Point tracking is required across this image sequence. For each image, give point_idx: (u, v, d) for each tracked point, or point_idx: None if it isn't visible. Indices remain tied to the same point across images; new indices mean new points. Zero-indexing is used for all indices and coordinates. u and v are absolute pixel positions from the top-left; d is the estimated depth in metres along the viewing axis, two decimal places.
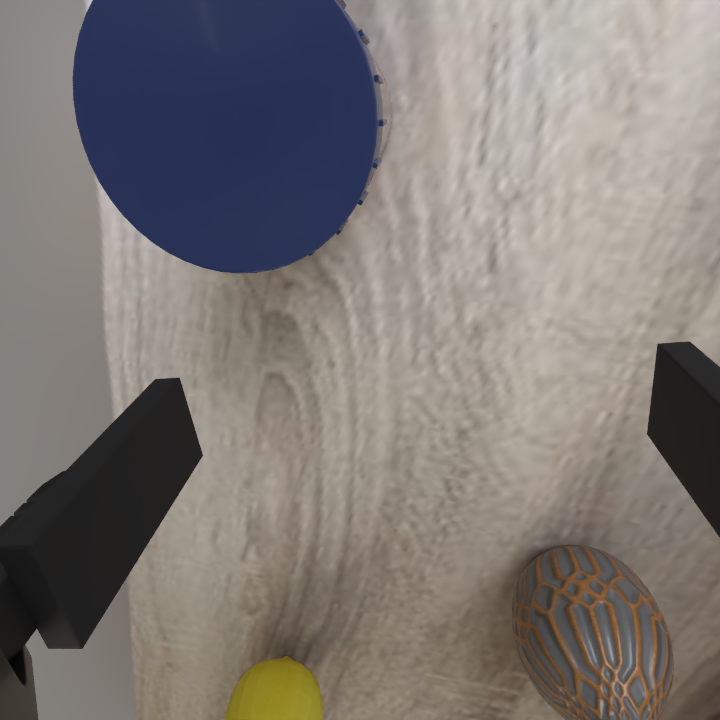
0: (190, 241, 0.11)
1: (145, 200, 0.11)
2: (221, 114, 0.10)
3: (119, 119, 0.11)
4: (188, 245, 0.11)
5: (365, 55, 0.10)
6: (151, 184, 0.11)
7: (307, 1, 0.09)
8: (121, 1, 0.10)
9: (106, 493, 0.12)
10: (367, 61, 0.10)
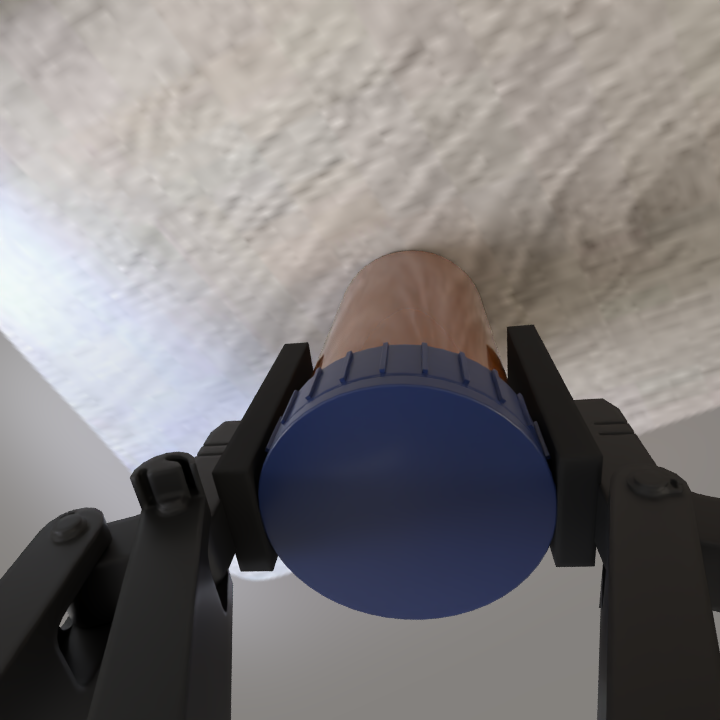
0: (530, 495, 0.10)
1: (517, 542, 0.11)
2: (397, 520, 0.11)
3: (461, 580, 0.11)
4: (536, 495, 0.10)
5: (270, 450, 0.10)
6: (498, 542, 0.11)
7: (276, 503, 0.11)
8: (378, 604, 0.12)
9: None
10: (273, 445, 0.10)
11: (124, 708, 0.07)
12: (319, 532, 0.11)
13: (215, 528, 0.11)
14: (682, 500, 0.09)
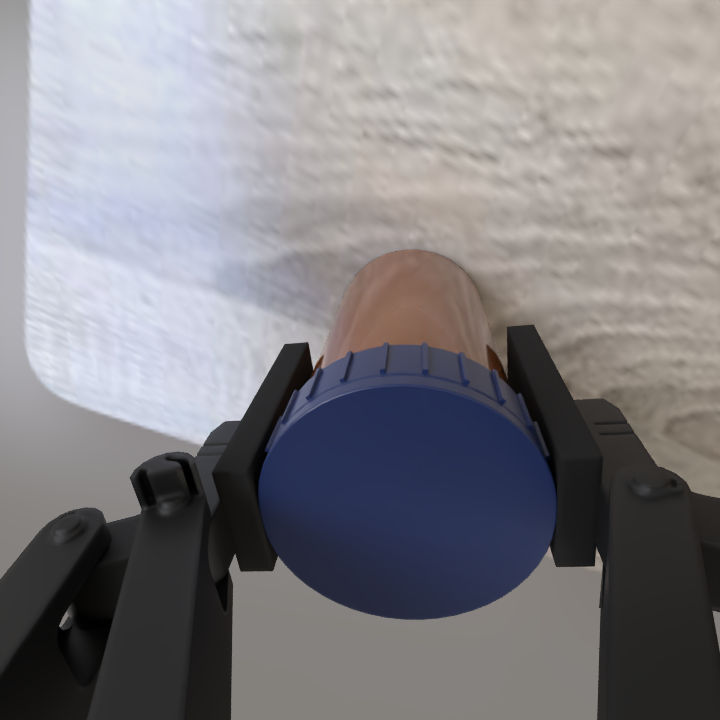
0: (530, 495, 0.10)
1: (517, 542, 0.11)
2: (397, 520, 0.11)
3: (461, 580, 0.11)
4: (536, 495, 0.10)
5: (270, 450, 0.10)
6: (498, 543, 0.11)
7: (276, 502, 0.11)
8: (377, 604, 0.12)
9: None
10: (273, 445, 0.10)
11: (124, 708, 0.07)
12: (319, 532, 0.11)
13: (215, 528, 0.11)
14: (682, 500, 0.09)
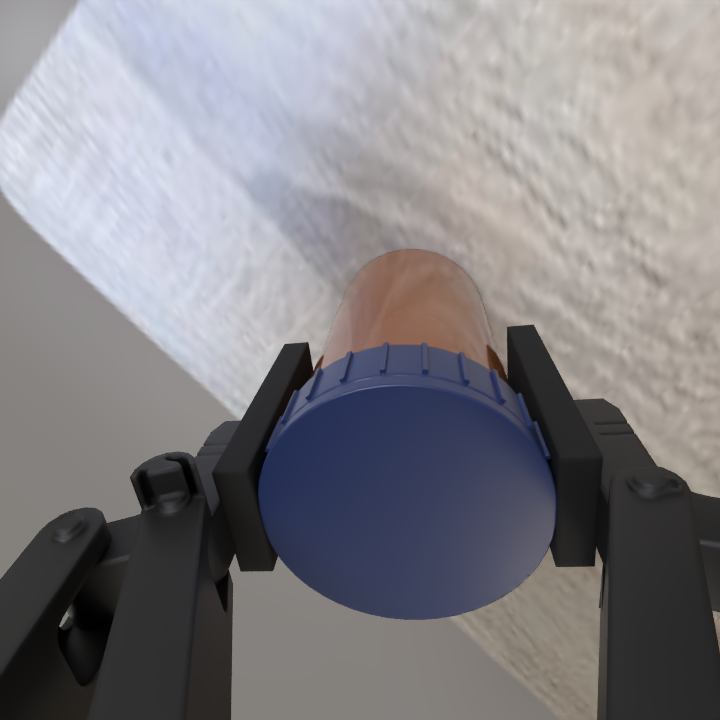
0: (530, 495, 0.10)
1: (517, 542, 0.11)
2: (397, 520, 0.11)
3: (461, 580, 0.11)
4: (536, 495, 0.10)
5: (270, 450, 0.10)
6: (498, 543, 0.11)
7: (276, 503, 0.11)
8: (378, 604, 0.12)
9: None
10: (273, 445, 0.10)
11: (124, 708, 0.07)
12: (319, 532, 0.11)
13: (215, 528, 0.11)
14: (682, 500, 0.09)
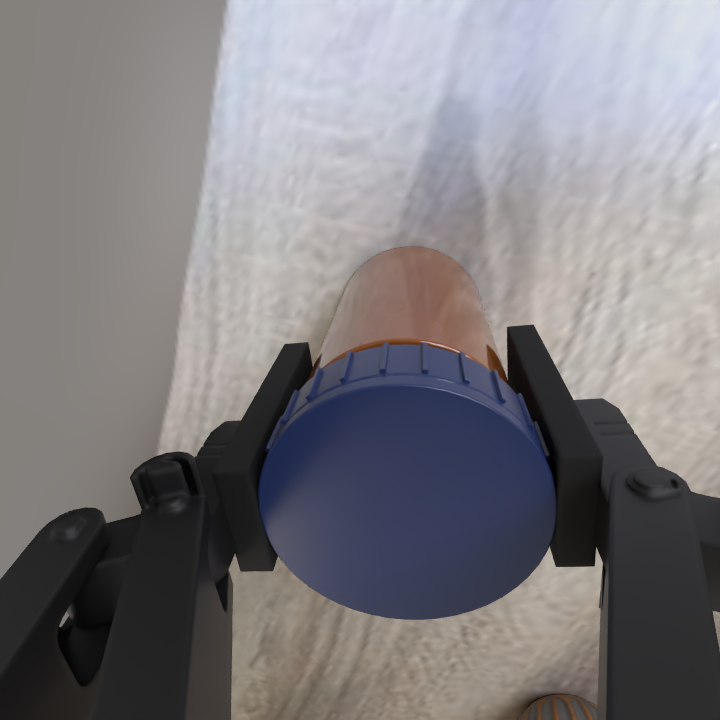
0: (530, 495, 0.10)
1: (517, 542, 0.11)
2: (397, 520, 0.11)
3: (461, 580, 0.11)
4: (536, 495, 0.10)
5: (270, 450, 0.10)
6: (498, 543, 0.11)
7: (276, 503, 0.11)
8: (377, 604, 0.12)
9: None
10: (273, 445, 0.10)
11: (124, 708, 0.07)
12: (319, 532, 0.11)
13: (215, 528, 0.11)
14: (682, 500, 0.09)
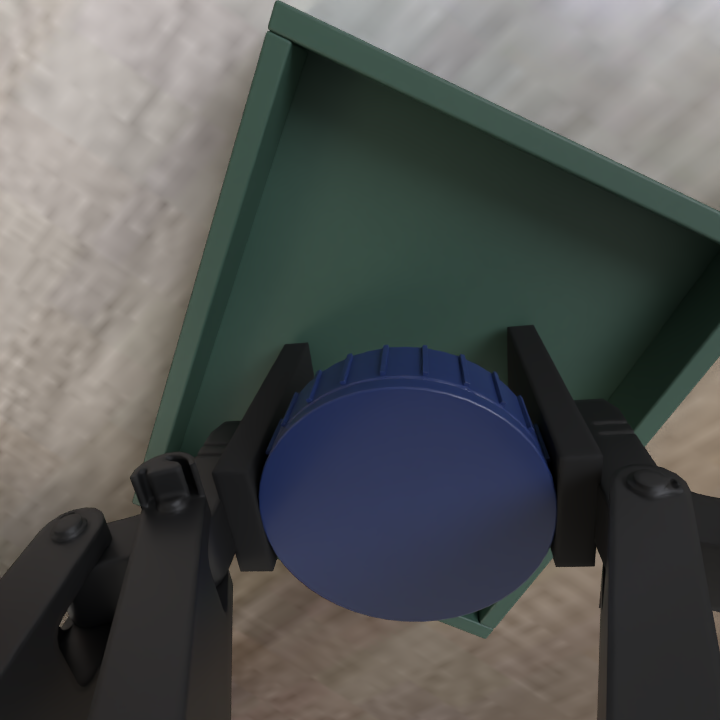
0: (530, 497, 0.10)
1: (517, 544, 0.11)
2: (398, 522, 0.11)
3: (461, 582, 0.11)
4: (536, 497, 0.10)
5: (271, 453, 0.10)
6: (498, 545, 0.11)
7: (276, 505, 0.11)
8: (378, 606, 0.12)
9: None
10: (273, 448, 0.10)
11: (124, 708, 0.07)
12: (319, 534, 0.11)
13: (215, 528, 0.11)
14: (682, 500, 0.09)
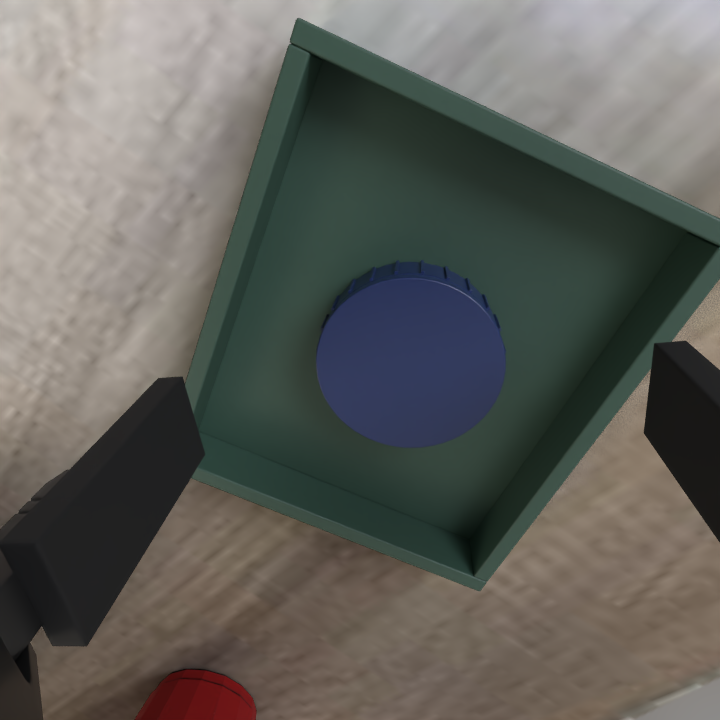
0: (488, 351, 0.16)
1: (481, 385, 0.17)
2: (405, 372, 0.17)
3: (446, 415, 0.18)
4: (491, 351, 0.16)
5: (325, 324, 0.17)
6: (469, 386, 0.17)
7: (327, 362, 0.17)
8: (391, 436, 0.18)
9: (110, 491, 0.12)
10: (327, 321, 0.17)
11: None
12: (354, 383, 0.17)
13: (3, 597, 0.10)
14: None
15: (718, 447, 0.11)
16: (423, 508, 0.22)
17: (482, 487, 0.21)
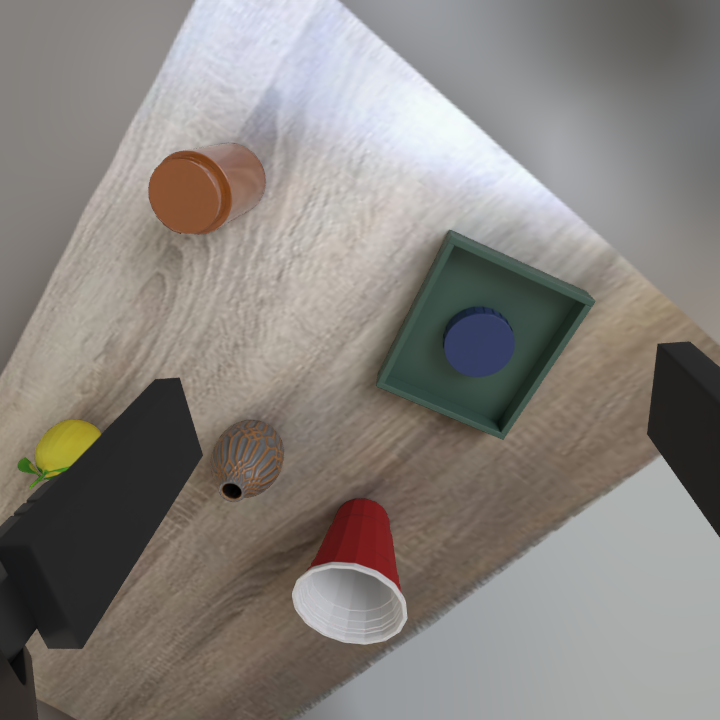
0: (508, 339, 0.46)
1: (505, 352, 0.46)
2: (477, 347, 0.46)
3: (492, 364, 0.47)
4: (509, 339, 0.46)
5: (449, 330, 0.46)
6: (501, 352, 0.46)
7: (448, 344, 0.47)
8: (471, 372, 0.48)
9: (106, 493, 0.12)
10: (450, 329, 0.46)
11: None
12: (458, 351, 0.47)
13: None
14: None
15: None
16: (478, 407, 0.51)
17: (504, 397, 0.50)
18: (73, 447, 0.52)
